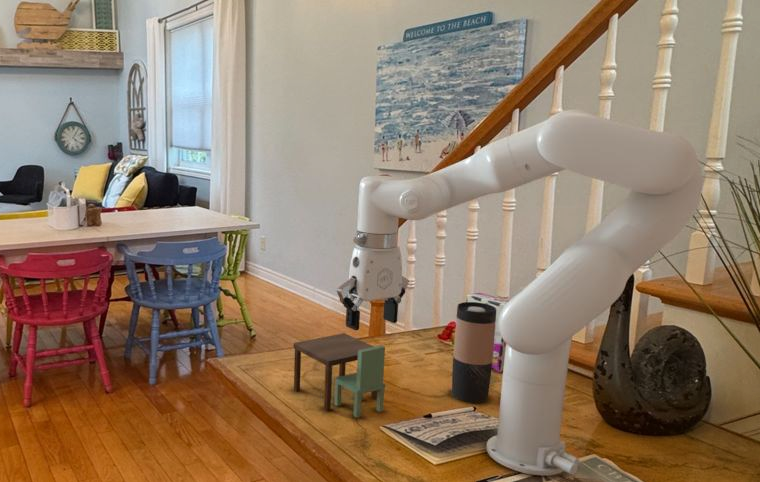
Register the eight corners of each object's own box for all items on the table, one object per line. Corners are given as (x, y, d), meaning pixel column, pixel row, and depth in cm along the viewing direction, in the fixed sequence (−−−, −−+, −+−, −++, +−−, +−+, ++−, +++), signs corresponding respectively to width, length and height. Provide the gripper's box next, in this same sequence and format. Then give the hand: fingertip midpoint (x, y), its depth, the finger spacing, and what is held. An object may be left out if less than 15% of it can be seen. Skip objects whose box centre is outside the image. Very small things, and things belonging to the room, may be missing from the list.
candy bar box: (514, 369, 151) (520, 303, 147) (499, 373, 148) (505, 305, 145) (475, 354, 161) (480, 291, 157) (460, 357, 158) (465, 294, 155)
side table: (379, 398, 136) (381, 349, 134) (326, 411, 130) (328, 361, 128) (342, 378, 147) (344, 332, 145) (292, 389, 141) (293, 342, 139)
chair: (384, 411, 130) (387, 346, 128) (356, 418, 127) (359, 352, 125) (360, 397, 137) (362, 335, 134) (333, 404, 134) (335, 341, 131)
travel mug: (490, 393, 138) (498, 304, 134) (487, 406, 132) (495, 314, 128) (453, 385, 142) (459, 299, 138) (447, 399, 135) (454, 309, 132)
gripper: (354, 248, 115) (349, 337, 119) (424, 239, 123) (418, 324, 126) (328, 240, 122) (324, 325, 125) (396, 233, 129) (390, 313, 133)
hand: (371, 324), depth 126 cm, fingers open, 9 cm apart
